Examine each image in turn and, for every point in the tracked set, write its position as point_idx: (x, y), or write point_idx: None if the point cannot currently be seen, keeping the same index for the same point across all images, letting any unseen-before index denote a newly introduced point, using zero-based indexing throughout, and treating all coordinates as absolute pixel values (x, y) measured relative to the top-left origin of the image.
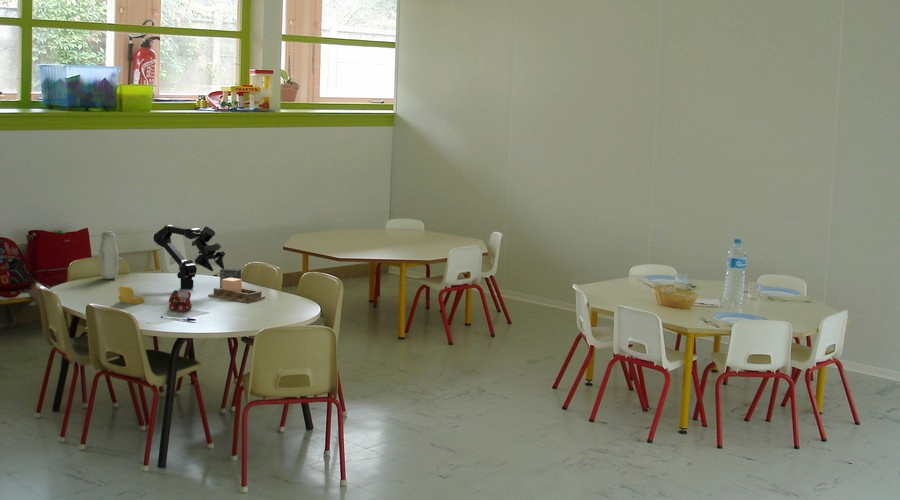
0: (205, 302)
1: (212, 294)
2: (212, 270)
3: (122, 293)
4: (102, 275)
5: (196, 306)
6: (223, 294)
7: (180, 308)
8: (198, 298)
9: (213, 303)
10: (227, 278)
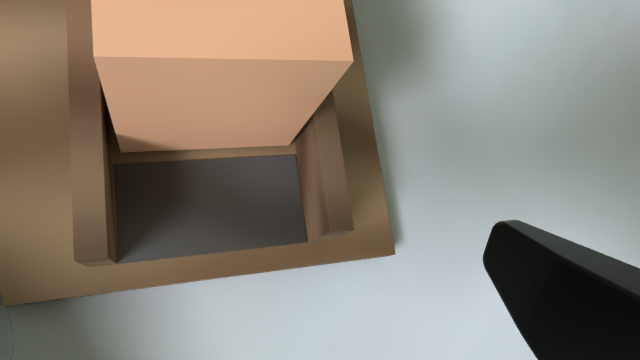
0: (534, 76)
1: (358, 223)
2: (514, 237)
3: None
4: None
5: (636, 33)
6: None
7: None
8: None
9: (506, 4)
10: (216, 39)
